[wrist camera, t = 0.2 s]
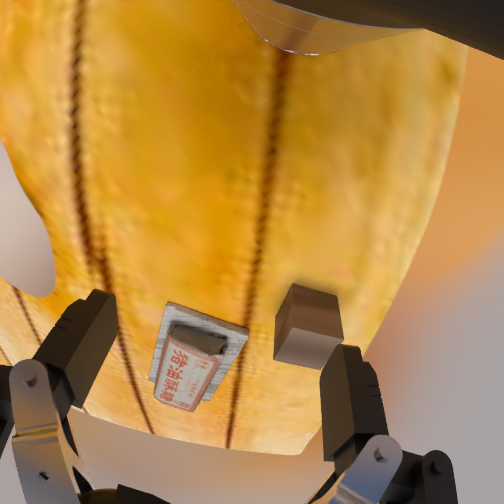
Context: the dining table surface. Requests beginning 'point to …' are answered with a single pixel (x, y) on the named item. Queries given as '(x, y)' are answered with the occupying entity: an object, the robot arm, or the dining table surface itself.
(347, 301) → the dining table surface
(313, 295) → the walnut block
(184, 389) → the packaged product
